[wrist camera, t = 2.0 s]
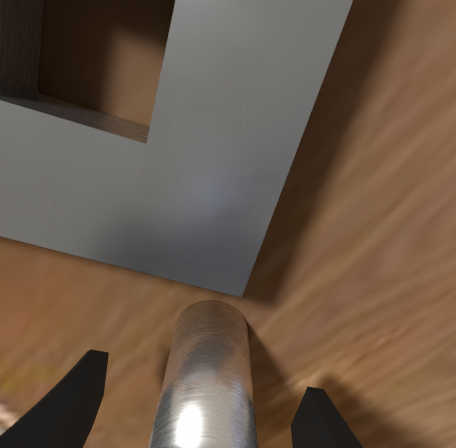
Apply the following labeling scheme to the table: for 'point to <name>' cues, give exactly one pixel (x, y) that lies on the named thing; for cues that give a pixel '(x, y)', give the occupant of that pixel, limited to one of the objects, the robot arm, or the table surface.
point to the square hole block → (167, 141)
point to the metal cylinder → (207, 382)
